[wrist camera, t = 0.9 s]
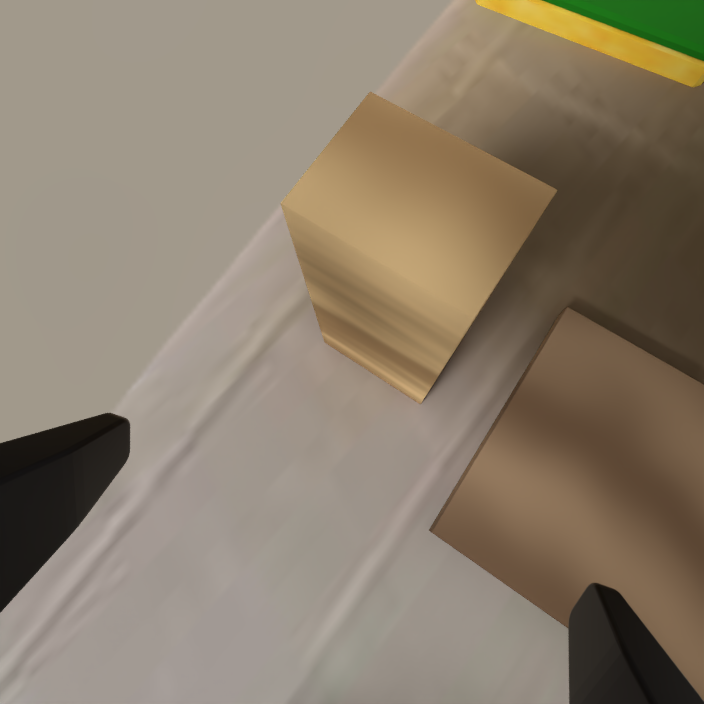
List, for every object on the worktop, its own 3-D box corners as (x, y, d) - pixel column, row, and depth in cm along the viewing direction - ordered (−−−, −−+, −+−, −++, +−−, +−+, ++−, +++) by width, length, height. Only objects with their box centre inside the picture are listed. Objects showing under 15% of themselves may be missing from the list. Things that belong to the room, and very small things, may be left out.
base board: (690, 714, 19) (708, 726, 18) (429, 530, 21) (431, 532, 20) (804, 455, 21) (825, 453, 20) (559, 314, 23) (567, 306, 22)
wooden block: (420, 404, 22) (474, 319, 11) (324, 342, 23) (280, 203, 12) (469, 328, 23) (567, 174, 12) (375, 271, 24) (380, 78, 13)
